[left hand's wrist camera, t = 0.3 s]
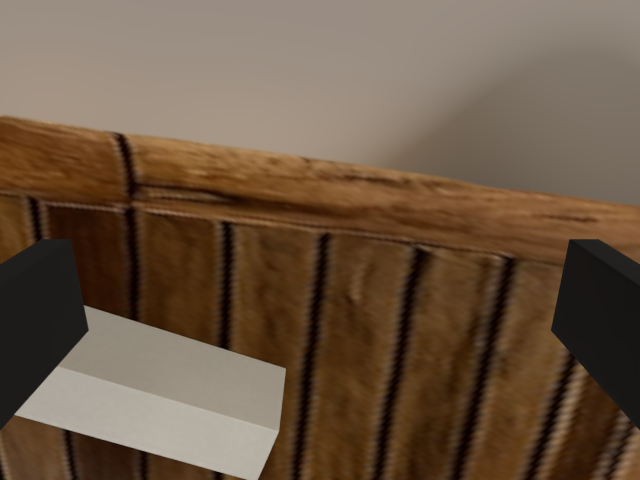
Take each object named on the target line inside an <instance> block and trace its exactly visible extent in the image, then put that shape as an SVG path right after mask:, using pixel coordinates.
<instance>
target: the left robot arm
mask: <svg viewBox="0 0 640 480" xmlns="http://www.w3.org/2000/svg"><path fill="white" fill-rule="evenodd" d="M88 331H89V328H88V323H87V318H86V313H85V308H84V303H83V298H82V294H81V289H80V284H79V279H78V274H77V269H76V264H75V259H74V254H73V249H72V244H71V240H70V239H41V240H40V241H38V242H36V243H35V244H33V245H31V246H30V247H28V248H26V249H25V250H23V251H21V252H20V253H18V254H16V255H15V256H13V257H12V258H10V259H8V260H7V261H5V262H3V263H2V264H0V430H1V429H2V428H3V427H4V426H5V424H6V423H7V422H8V421H9V420H10V419H11V418H12V417H13V415H14V414H15V413H16V412H17V411H18V410H19V409H20V408H21V406H22V405H23V404H24V403H25V402H26V401H27V400H28V399H29V397H30V396H31V395H32V394H33V393H34V392H35V391H36V390H37V388H38V387H39V386H40V385H41V384H42V383H43V382H44V381H45V379H46V378H47V377H48V376H49V375H50V374H51V373H52V372H53V370H54V369H55V368H56V367H57V366H58V365H59V364H60V362H61V361H62V360H63V359H64V358H65V357H66V356H67V355H68V353H69V352H70V351H71V350H72V349H73V348H74V347H75V346H76V344H77V343H78V342H79V341H80V340H81V339H82V338H83V337H84V335H85V334H86V333H87V332H88ZM551 331H552V332H553V333H554V334H555V335H556V337H557V338H558V339H559V340H560V341H561V342H562V343H563V344H564V346H565V347H566V348H567V349H568V350H569V351H570V352H571V353H572V355H573V356H574V357H575V358H576V359H577V360H578V361H579V362H580V364H581V365H582V366H583V367H584V368H585V369H586V370H587V372H588V373H589V374H590V375H591V376H592V377H593V378H594V379H595V381H596V382H597V383H598V384H599V385H600V386H601V387H602V388H603V390H604V391H605V392H606V393H607V394H608V395H609V396H610V397H611V399H612V400H613V401H614V402H615V403H616V404H617V405H618V406H619V408H620V409H621V410H622V411H623V412H624V413H625V414H626V415H627V417H628V418H629V419H630V420H631V421H632V422H633V423H634V424H635V426H636V427H637V428H638V429H639V430H640V264H638V263H637V262H635V261H633V260H632V259H630V258H628V257H627V256H625V255H624V254H622V253H620V252H619V251H617V250H615V249H614V248H612V247H610V246H609V245H607V244H605V243H604V242H602V241H600V240H599V239H570V240H569V244H568V249H567V254H566V259H565V264H564V269H563V274H562V279H561V284H560V289H559V294H558V298H557V303H556V308H555V313H554V318H553V323H552V328H551Z"/></svg>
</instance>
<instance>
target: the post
mask: <svg viewBox="0 0 640 480" xmlns="http://www.w3.org/2000/svg"><path fill="white" fill-rule="evenodd" d="M84 308H85V313H86V318H87V323H88V328H89V331H88V332H87V333H86V334H85V335H84V337H83V338H82V339H81V340H80V341H79V342H78V343H77V344H76V346H75V347H74V348H73V349H72V350H71V351H70V352H69V353H68V355H67V356H66V357H65V358H64V359H63V360H62V361H61V362H60V364H59V365H58V366H57V367H56V368H55V369H54V370H53V372H52V373H51V374H50V375H49V376H48V377H47V378H46V379H45V381H44V382H43V383H42V384H41V385H40V386H39V387H38V388H37V390H36V391H35V392H34V393H33V394H32V395H31V396H30V397H29V399H28V400H27V401H26V402H25V403H24V404H23V405H22V406H21V408H20V409H19V410H18V411H17V412H16V413H15V414H14V415H17V416H20V417H24V418H28V419H31V420H35V421H38V422H42V423H46V424H49V425H53V426H56V427H60V428H64V429H67V430H71V431H74V432H78V433H82V434H85V435H89V436H92V437H96V438H100V439H103V440H107V441H110V442H114V443H118V444H121V445H125V446H128V447H132V448H136V449H139V450H143V451H146V452H150V453H153V454H157V455H161V456H164V457H168V458H171V459H175V460H179V461H182V462H186V463H189V464H193V465H197V466H200V467H204V468H207V469H211V470H215V471H218V472H222V473H225V474H229V475H233V476H236V477H240V478H243V479H247V480H258V478H259V476H260V473H261V471H262V469H263V467H264V464H265V462H266V460H267V457H268V455H269V453H270V451H271V448H272V446H273V444H274V441H275V439H276V437H277V435H278V432H279V425H280V416H281V408H282V399H283V390H284V381H285V372H286V369H285V368H283V367H279V366H276V365H273V364H270V363H267V362H263V361H260V360H257V359H254V358H251V357H247V356H244V355H241V354H238V353H235V352H232V351H228V350H225V349H222V348H219V347H216V346H212V345H209V344H206V343H203V342H200V341H196V340H193V339H190V338H187V337H184V336H180V335H177V334H174V333H171V332H168V331H164V330H161V329H158V328H155V327H152V326H149V325H145V324H142V323H139V322H136V321H133V320H129V319H126V318H123V317H120V316H117V315H113V314H110V313H107V312H104V311H101V310H97V309H94V308H91V307H88V306H85V305H84Z"/></svg>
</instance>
